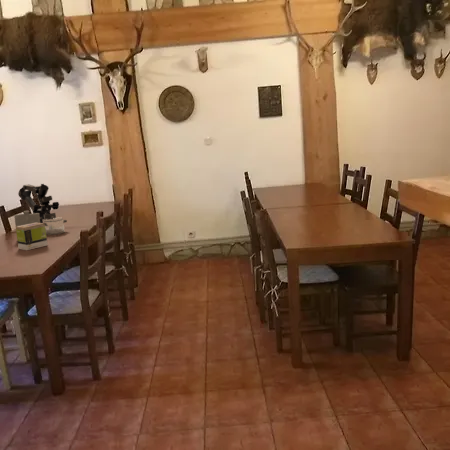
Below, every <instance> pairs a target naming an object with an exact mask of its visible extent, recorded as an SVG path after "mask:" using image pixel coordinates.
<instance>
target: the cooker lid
mask: <svg viewBox="0 0 450 450" xmlns="http://www.w3.org/2000/svg"><path fill="white" fill-rule="evenodd" d="M60 220H64V219H63V216H57V215H56V212H50V214H44V219H43V223H44V222H54V221H60Z"/></svg>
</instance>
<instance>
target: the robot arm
mask: <svg viewBox="0 0 450 450" xmlns="http://www.w3.org/2000/svg"><path fill="white" fill-rule="evenodd" d="M48 192H49V186H48V185H46V184H44V183H40V185H32V184H23V185H22V187H21V188H20V189H19V191H18V193H17V194H18V197H19V198H20V199H21V200H23V201H25V202H26V204H27V205H28V207H29V208H30V210H31V211H32V214H34V213H39V216H40V223H44V221H43V219H44V214H50V213H51V211H52V210H59V206H60V203H59V201H54V202H52V204H50V203H51V201H53V196H52V195H48V196H46V195H47V194H48ZM31 194H34V195H36V200H38V203H39V204H36V202H35V201H34V200H33V198H32V196H31Z"/></svg>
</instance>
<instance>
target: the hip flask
mask: <svg viewBox="0 0 450 450" xmlns="http://www.w3.org/2000/svg"><path fill="white" fill-rule="evenodd" d="M13 217H14V224H15V228H16V227H17V226H21V225H26V224H31V223H36V222H37V223H40V216H39V213H34V214H33V213H30V210H24V211H23V213H20V214H14V216H13ZM16 235H17V233H16ZM17 242H18V240H17Z"/></svg>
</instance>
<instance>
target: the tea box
mask: <svg viewBox="0 0 450 450" xmlns="http://www.w3.org/2000/svg"><path fill="white" fill-rule="evenodd" d="M15 232H16V233H17V234H16V239H17V240H18V241H17V245H18V246H17V247H18V249H19V250H21V251H22V250H23V251H30V250H34V249H37V248H42V247H46V246H48V245H49V244H48V235H47V234H46V229H45V224H44V222H43V223H37V222H36V223H31V224H26V225H21V226H17V227H16V226H15Z"/></svg>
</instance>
